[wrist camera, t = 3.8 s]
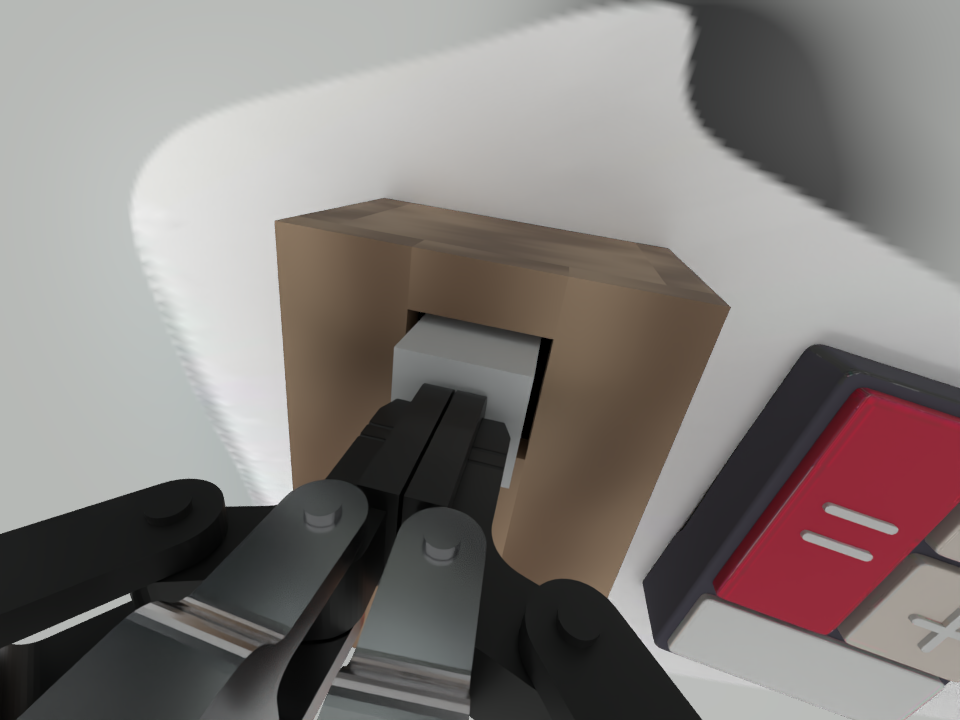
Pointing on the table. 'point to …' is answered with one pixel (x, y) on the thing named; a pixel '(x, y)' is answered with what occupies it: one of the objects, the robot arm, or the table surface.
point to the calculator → (828, 544)
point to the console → (517, 307)
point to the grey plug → (470, 369)
